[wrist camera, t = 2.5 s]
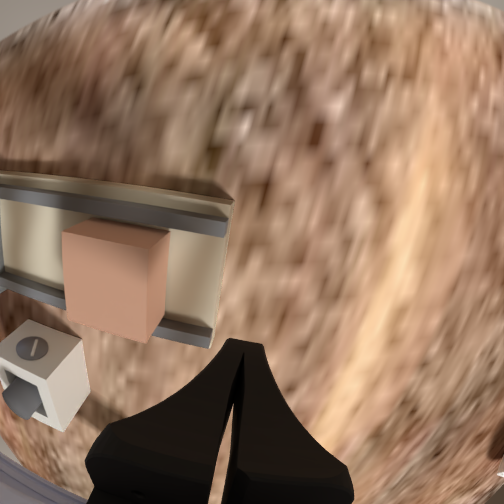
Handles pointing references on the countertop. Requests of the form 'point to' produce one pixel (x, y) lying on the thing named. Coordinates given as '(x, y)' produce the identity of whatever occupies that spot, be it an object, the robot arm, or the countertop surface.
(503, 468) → the skull bowl
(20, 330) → the gauge cabinet
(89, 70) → the countertop surface
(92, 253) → the block
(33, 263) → the rail bed
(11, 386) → the button
